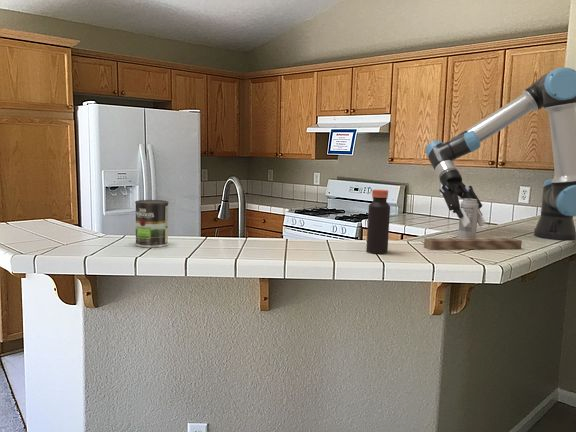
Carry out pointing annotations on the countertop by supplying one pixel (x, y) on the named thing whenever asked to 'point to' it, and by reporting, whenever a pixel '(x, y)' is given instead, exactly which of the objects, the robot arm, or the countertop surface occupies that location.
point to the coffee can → (151, 223)
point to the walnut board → (471, 243)
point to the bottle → (378, 223)
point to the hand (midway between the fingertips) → (475, 224)
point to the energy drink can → (472, 214)
